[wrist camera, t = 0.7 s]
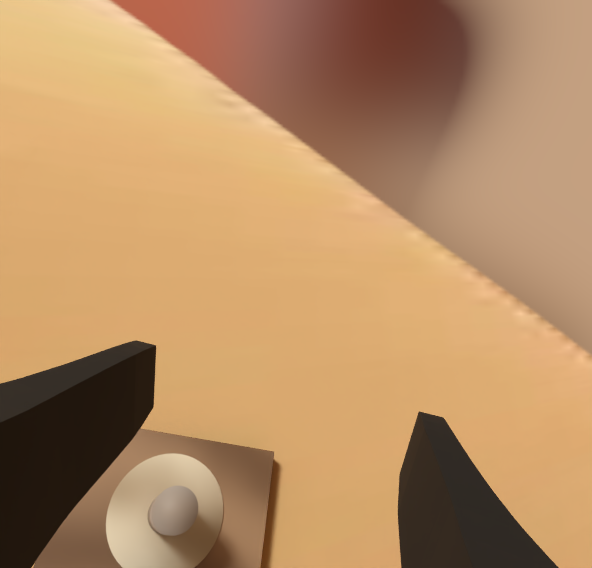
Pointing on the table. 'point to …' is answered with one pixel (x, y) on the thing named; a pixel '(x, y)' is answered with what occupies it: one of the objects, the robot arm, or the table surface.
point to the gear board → (233, 479)
